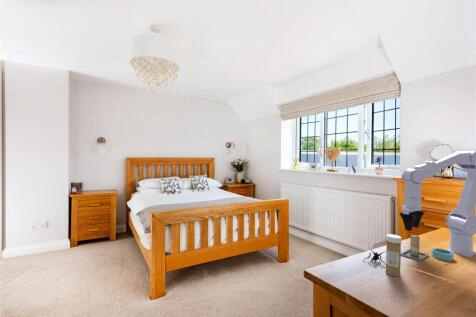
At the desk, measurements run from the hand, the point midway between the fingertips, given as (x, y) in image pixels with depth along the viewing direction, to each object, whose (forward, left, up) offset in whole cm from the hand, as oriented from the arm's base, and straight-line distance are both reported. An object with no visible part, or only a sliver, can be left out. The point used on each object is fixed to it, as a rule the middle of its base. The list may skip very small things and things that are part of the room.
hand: (411, 228), depth 106 cm
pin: (+4, +3, -10) cm, 11 cm away
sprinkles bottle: (+27, +4, -11) cm, 30 cm away
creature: (+24, -4, -11) cm, 27 cm away
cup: (-4, +10, -10) cm, 15 cm away
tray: (+4, +3, -10) cm, 11 cm away
